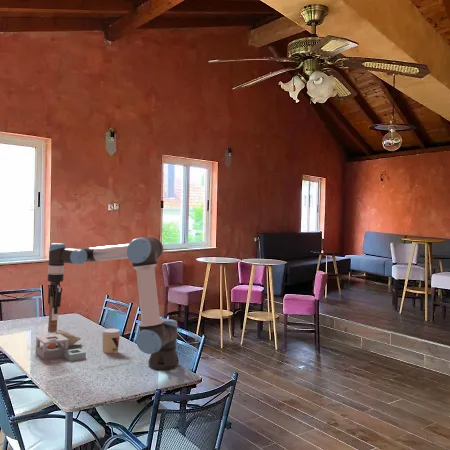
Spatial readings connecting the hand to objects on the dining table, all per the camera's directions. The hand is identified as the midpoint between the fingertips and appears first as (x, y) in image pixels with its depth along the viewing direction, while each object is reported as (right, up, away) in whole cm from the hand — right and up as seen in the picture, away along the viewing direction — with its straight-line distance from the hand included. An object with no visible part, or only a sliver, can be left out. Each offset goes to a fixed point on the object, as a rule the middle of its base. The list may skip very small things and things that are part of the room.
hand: (53, 319), depth 220 cm
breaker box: (-1, -19, 0) cm, 19 cm away
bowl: (0, -19, +18) cm, 27 cm away
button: (-1, -17, 0) cm, 17 cm away
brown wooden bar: (0, -6, 0) cm, 7 cm away
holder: (+12, -20, -2) cm, 23 cm away
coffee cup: (+26, -21, +12) cm, 35 cm away
